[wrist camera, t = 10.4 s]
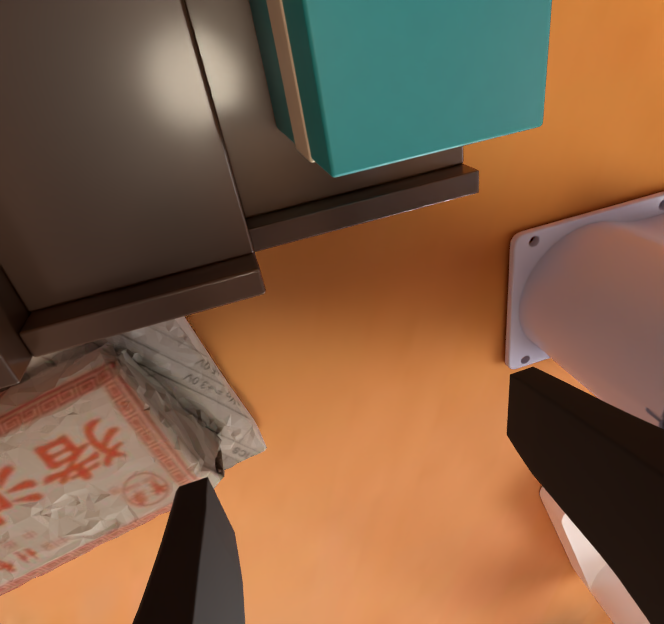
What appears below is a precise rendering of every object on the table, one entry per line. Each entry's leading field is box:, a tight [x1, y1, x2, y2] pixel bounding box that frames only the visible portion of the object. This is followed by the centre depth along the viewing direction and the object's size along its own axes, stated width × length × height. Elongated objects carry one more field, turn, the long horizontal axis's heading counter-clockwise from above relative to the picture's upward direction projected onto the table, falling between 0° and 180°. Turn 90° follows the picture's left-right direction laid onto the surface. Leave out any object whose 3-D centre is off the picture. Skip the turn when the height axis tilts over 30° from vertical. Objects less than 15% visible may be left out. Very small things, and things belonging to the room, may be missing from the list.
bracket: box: [540, 486, 650, 624], centre depth 34 cm, size 20×9×7 cm, turn 29°
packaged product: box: [0, 316, 267, 596], centre depth 18 cm, size 18×5×10 cm
